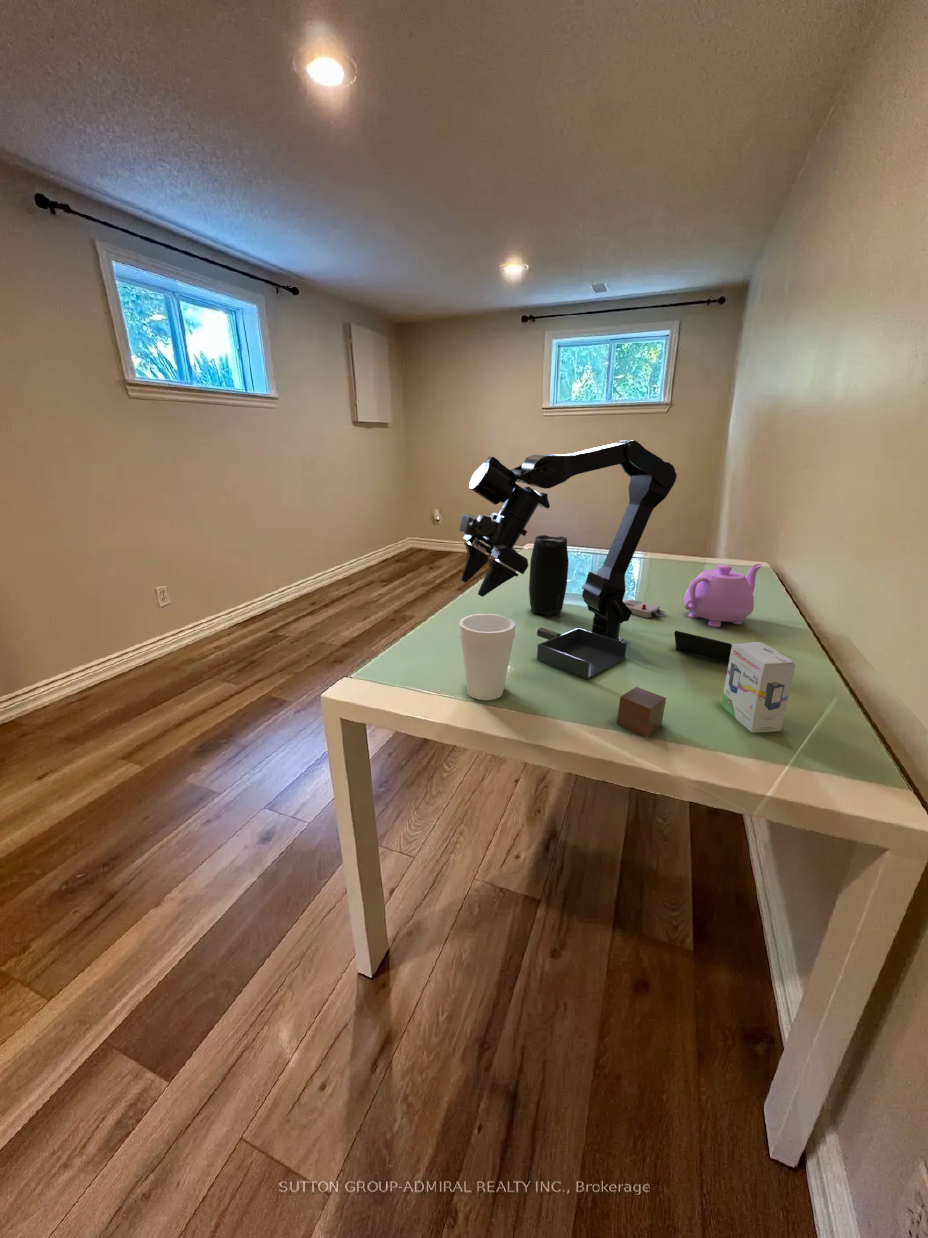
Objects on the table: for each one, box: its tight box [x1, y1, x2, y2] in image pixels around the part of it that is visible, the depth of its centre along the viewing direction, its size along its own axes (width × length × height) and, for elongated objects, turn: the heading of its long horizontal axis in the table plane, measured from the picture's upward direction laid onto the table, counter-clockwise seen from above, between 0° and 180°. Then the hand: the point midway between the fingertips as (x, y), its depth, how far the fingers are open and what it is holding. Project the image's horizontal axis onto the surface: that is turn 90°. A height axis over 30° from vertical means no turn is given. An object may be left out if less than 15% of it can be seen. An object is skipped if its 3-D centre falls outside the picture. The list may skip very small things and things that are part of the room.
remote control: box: [623, 599, 667, 619], centre depth 128 cm, size 7×16×3 cm, turn 44°
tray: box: [536, 627, 628, 681], centre depth 101 cm, size 14×17×4 cm
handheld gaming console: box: [673, 630, 733, 665], centre depth 101 cm, size 12×7×10 cm
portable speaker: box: [528, 534, 569, 618], centre depth 123 cm, size 9×9×20 cm
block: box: [616, 686, 667, 738], centre depth 76 cm, size 5×5×5 cm
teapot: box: [683, 563, 763, 628], centre depth 122 cm, size 22×16×14 cm
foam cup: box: [458, 613, 516, 701], centre depth 85 cm, size 10×9×13 cm
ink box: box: [720, 641, 797, 734], centre depth 77 cm, size 9×5×12 cm, turn 5°
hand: (471, 588), depth 94 cm, fingers open, 9 cm apart
